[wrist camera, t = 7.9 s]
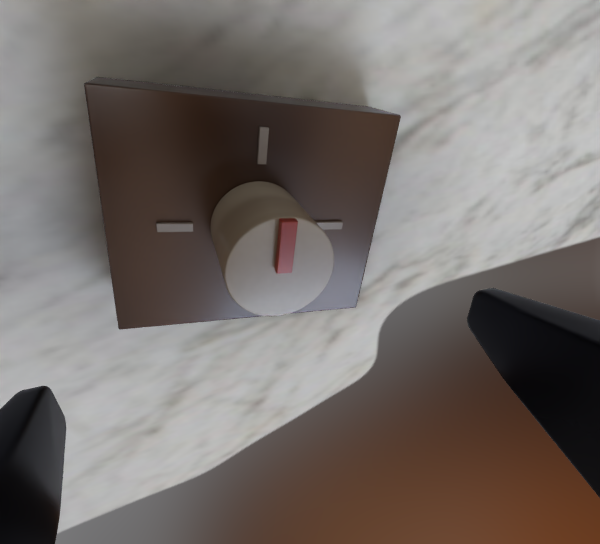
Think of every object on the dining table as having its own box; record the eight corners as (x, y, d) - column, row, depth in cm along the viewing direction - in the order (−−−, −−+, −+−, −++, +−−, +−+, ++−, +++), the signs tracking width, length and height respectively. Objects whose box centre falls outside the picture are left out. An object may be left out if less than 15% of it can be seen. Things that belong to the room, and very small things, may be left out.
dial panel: (123, 294, 19) (118, 332, 17) (96, 76, 14) (82, 83, 12) (335, 280, 23) (357, 309, 21) (369, 106, 18) (403, 116, 16)
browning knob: (295, 263, 18) (328, 316, 14) (210, 268, 17) (224, 327, 13) (305, 181, 16) (347, 219, 12) (210, 179, 15) (227, 221, 11)
